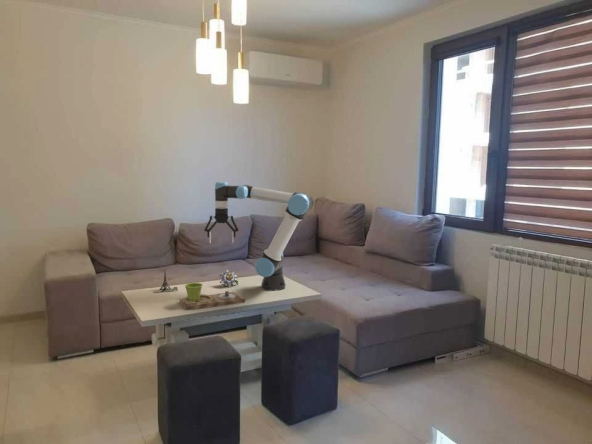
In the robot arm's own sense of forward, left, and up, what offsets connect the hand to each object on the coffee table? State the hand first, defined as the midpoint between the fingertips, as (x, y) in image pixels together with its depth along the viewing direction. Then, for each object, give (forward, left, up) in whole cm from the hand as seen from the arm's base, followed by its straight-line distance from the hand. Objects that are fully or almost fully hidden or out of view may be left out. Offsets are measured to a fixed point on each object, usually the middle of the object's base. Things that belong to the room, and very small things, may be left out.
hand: (221, 242), depth 279 cm
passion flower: (-4, -8, -29) cm, 30 cm away
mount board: (+4, +28, -29) cm, 40 cm away
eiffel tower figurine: (+34, 0, -29) cm, 45 cm away
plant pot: (+14, +31, -27) cm, 43 cm away
